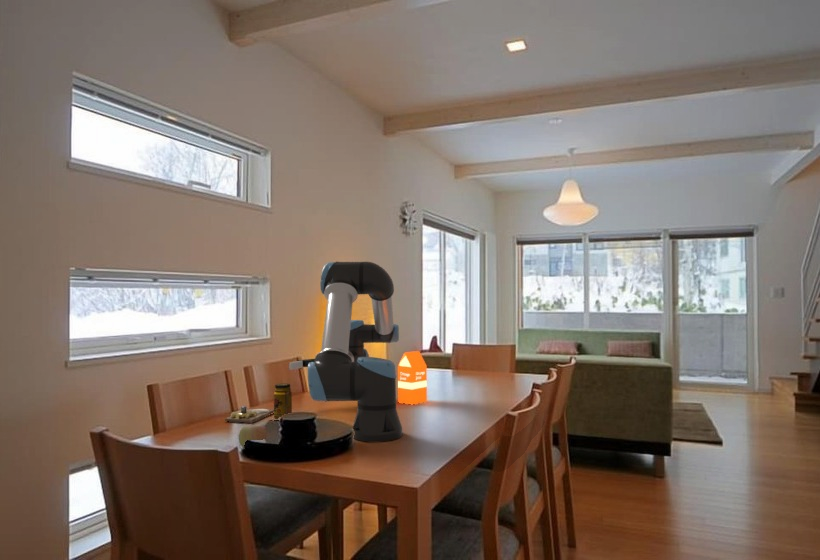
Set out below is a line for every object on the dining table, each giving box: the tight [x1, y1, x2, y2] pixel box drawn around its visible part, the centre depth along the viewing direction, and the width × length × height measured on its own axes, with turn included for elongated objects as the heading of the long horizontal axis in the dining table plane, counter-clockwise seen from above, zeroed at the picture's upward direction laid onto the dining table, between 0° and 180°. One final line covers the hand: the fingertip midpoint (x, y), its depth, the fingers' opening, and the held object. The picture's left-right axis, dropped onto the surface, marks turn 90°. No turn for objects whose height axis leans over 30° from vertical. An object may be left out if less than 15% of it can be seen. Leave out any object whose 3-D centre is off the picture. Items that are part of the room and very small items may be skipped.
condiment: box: [273, 383, 293, 419], centre depth 190 cm, size 7×8×12 cm
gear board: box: [224, 408, 274, 424], centre depth 191 cm, size 16×10×1 cm, turn 167°
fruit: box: [238, 420, 268, 449], centre depth 152 cm, size 8×7×8 cm
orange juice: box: [397, 350, 428, 406], centre depth 216 cm, size 8×9×20 cm
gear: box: [230, 406, 257, 419], centre depth 188 cm, size 9×9×3 cm
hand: (303, 367), depth 199 cm, fingers open, 13 cm apart
